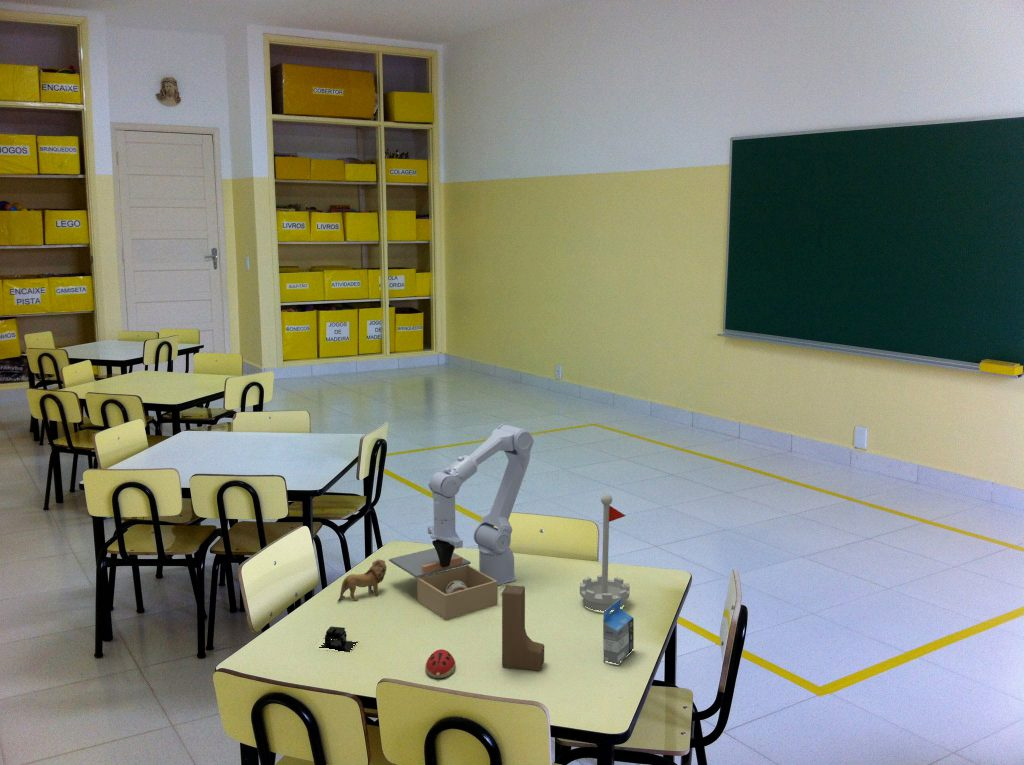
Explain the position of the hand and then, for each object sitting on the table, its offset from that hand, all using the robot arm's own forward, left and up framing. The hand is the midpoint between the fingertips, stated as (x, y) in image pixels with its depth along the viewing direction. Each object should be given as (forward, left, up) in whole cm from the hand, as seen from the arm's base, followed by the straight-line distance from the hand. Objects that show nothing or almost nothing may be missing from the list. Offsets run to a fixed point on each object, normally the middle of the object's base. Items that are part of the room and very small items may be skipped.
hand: (445, 566), depth 238 cm
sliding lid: (0, -8, -2) cm, 8 cm away
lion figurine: (+18, -13, -9) cm, 24 cm away
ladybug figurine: (+22, +34, -9) cm, 41 cm away
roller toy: (0, +6, -9) cm, 10 cm away
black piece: (+36, +9, -9) cm, 39 cm away
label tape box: (-14, +53, -9) cm, 55 cm away
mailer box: (0, +6, -8) cm, 10 cm away
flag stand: (-31, +29, -9) cm, 43 cm away
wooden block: (+6, +43, -8) cm, 44 cm away
